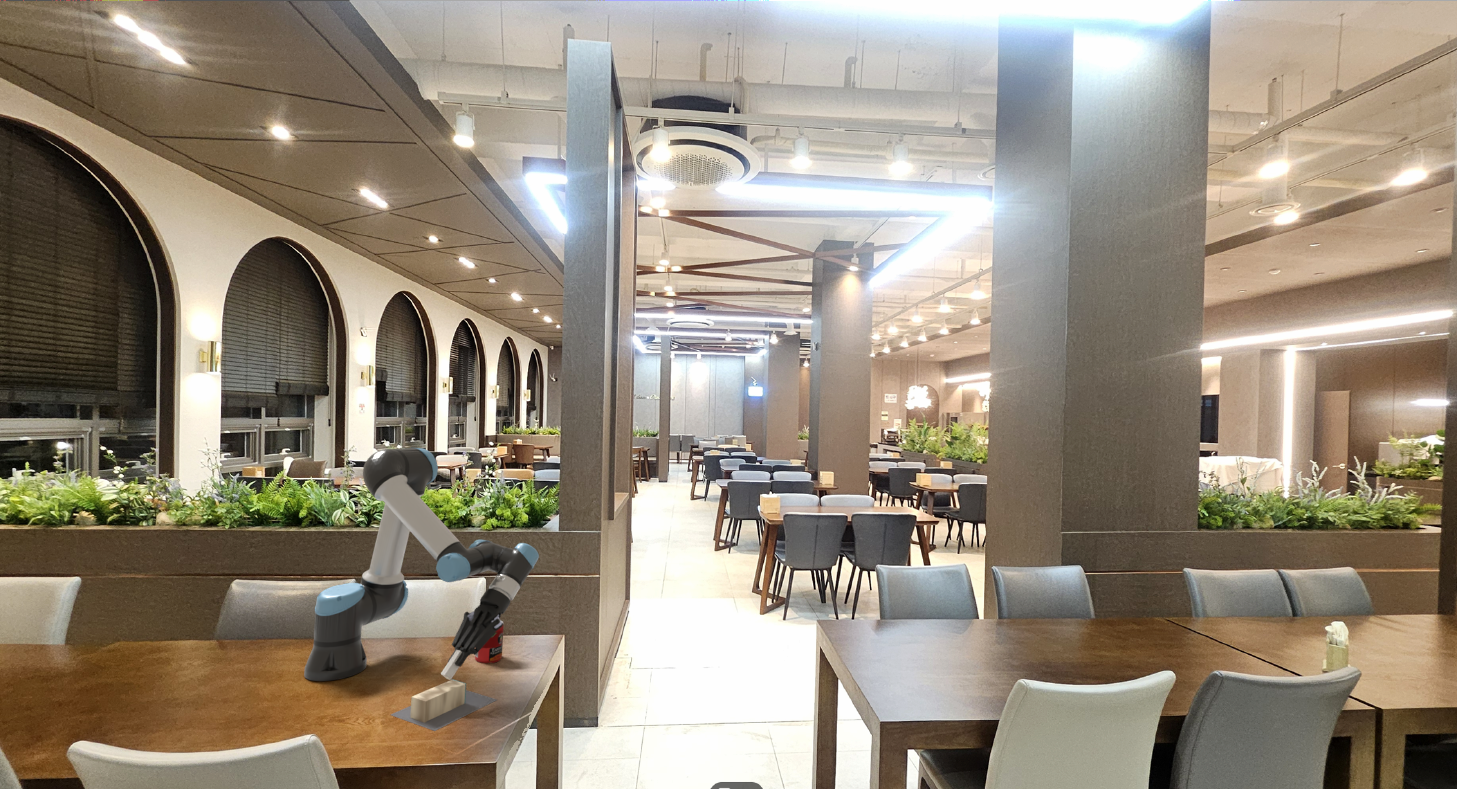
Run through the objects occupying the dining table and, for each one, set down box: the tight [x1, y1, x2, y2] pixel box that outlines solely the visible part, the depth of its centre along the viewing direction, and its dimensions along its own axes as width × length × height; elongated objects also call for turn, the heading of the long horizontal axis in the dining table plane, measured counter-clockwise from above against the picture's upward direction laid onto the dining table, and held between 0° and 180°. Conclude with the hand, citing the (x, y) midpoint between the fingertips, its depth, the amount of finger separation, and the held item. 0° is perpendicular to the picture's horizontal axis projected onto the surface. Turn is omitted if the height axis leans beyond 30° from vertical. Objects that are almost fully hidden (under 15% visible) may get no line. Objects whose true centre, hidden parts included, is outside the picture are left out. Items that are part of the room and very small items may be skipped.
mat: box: [390, 689, 498, 732], centre depth 157 cm, size 16×19×1 cm
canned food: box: [474, 619, 504, 664], centre depth 190 cm, size 8×8×11 cm
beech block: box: [410, 678, 467, 723], centre depth 156 cm, size 5×5×12 cm
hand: (445, 676), depth 157 cm, fingers closed
